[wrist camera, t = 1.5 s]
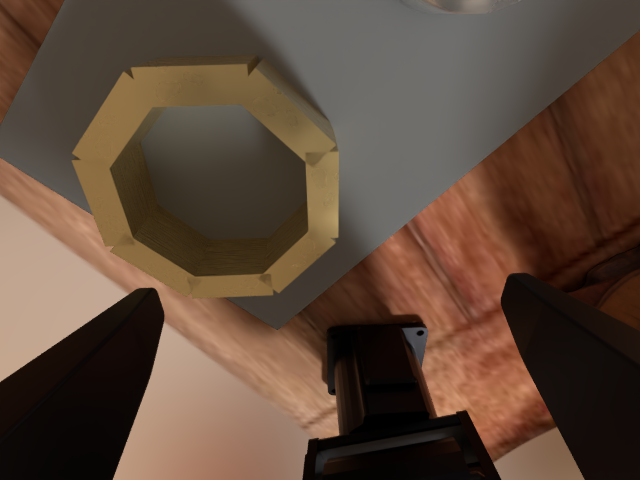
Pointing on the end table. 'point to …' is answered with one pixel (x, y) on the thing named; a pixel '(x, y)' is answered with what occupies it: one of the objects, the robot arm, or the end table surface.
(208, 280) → the brass ring
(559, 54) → the mat
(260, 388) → the end table surface
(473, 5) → the silver calibration weight
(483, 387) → the end table surface
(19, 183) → the end table surface
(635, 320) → the wooden figurine
